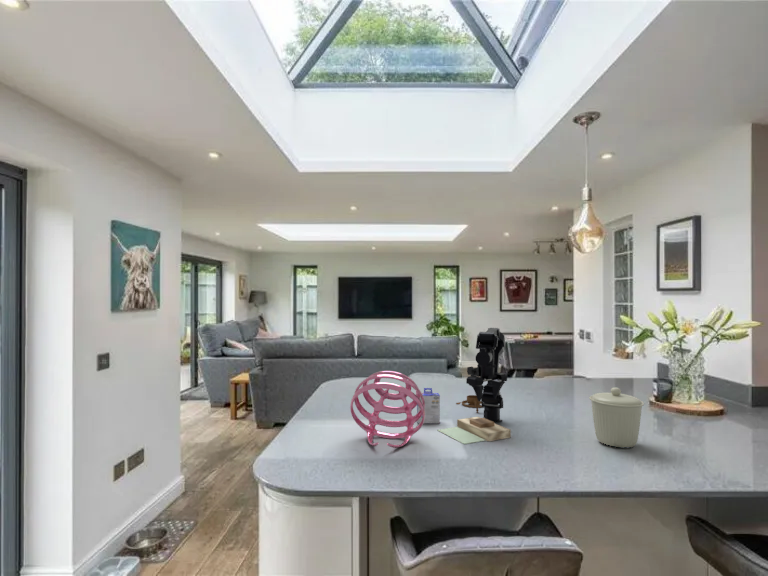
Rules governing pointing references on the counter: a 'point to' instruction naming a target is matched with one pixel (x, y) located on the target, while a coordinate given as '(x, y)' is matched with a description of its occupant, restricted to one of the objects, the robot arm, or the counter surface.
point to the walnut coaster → (481, 422)
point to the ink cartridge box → (430, 407)
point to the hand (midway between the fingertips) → (487, 399)
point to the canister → (616, 418)
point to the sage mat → (461, 435)
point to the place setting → (472, 402)
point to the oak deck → (484, 430)
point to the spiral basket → (381, 407)
